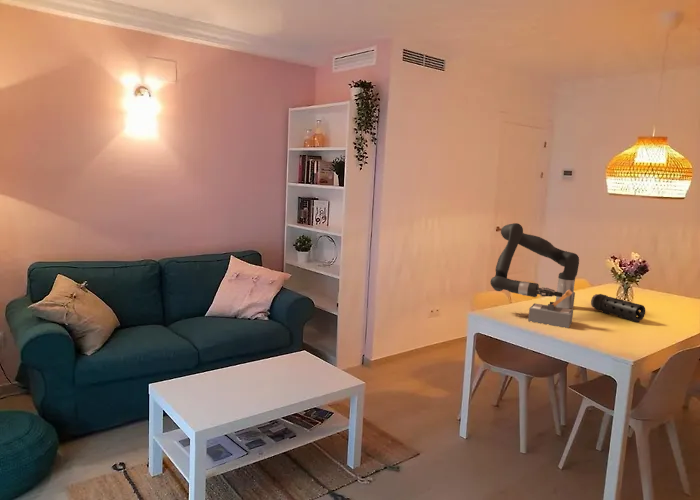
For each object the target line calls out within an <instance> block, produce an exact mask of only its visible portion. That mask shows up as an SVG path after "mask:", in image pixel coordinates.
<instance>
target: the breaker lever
mask: <svg viewBox="0 0 700 500" xmlns="http://www.w3.org/2000/svg"><path fill="white" fill-rule="evenodd" d="M572 293H573V292H572V291H571V290H570V289H569V290H568V291H566V293H565V294H564V295H563V296H562V297H560V298H559V299H558V300H556V299H555V301H553V302H554V303H553V304H551V305H554V307H555V306H556V305H557V304H559V303H560V302H561V301H562V300H564V299H565V298H566V297H567V296H568V297H569V296H570V295H571V294H572Z"/></svg>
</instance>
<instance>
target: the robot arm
mask: <svg viewBox="0 0 700 500" xmlns="http://www.w3.org/2000/svg"><path fill="white" fill-rule="evenodd" d="M500 235H501V236H502V238H503V239H504V240H506V241H507V243H506V246H505V247H504V249H503V250H502V252H501V254H500V255H499V257H498V259H497V262H496V265H495V276H493V277H492V278H490V285H491V287H492V289H493V290H495V291H496V292H502V291H508V292H509V293H512V294H517V295H522V296H526V297H532V298H536V297H538V295H539V296H541V297H555V301H556V300H558V299H559V298H560V297H562V296H563V295H564V294H565V293H566V291H568V290H569V289H570V290H571V291H572V292H573V293H572V294H571V295H570V296H569V297H568V296H567V297H566V298H565V299H564V300H562V301H561V302H560V303H559V304H557V305H556V307H561V308H567V309H573V308H574V305H575V297H576V296H575V295H576V292H574V291H575V283H576V277H577V275H578V271H579V267H580V266H579V265H580V258H579V255H578V254H576V253H575V252H570V251H567V250H563V249H560V248H557V247H556V246H555V245H553V243H551V242H550V241H548V240H547V239H544V238H542V237H540V236H537V235H534V234H529V233H524V228H523V226H522V225H521V224H520V223H518V222H517V223H515V222H514V223H510V224H506V225H504V226H503V227H502V228H501V229H500ZM518 246H522V247H523V248H526V249H527V250H528V251H529V250H530V251H532V252H533V253H535V254H537V255H539V256H542V257H544V258H547V259H551V260H552V261H554V262H555V263H557V264H558V265H560V266H561V267H564V268H563V271H562V272H559V273H558V275H557V276H558V277H557V286H556V287H557V288H556V290H555V289H553V288H552V289H551V288H549V287H539V286H540V284H539V283H536V282H530V281H525V280H524V281H523V280H517V279H512V278H511V279H510V278H508V274H509V270H510V268H511V262H512V260H513V257H514V255H515V252H516V250H517V248H518Z"/></svg>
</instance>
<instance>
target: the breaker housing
mask: <svg viewBox="0 0 700 500" xmlns="http://www.w3.org/2000/svg"><path fill="white" fill-rule="evenodd" d="M554 302H555V301H549V303H548V304H540V303H533V304H532V305H530V307H529V309H528V310H529V311H528V320H527V321H528V322H530V321H532V322H531V323H535V322H538V323H537V324H541V323H544V324H543V325H547V324H549V325H548V326H552V327H558V326H559V327H560V328H564V327H565V329H570V327H571V324H572V322H573V316H574V309H573V308H570V309H567V308H561V307H556V306H555V307H554V305H551V304H553V303H554ZM569 326H570V327H569ZM559 327H558V328H559Z"/></svg>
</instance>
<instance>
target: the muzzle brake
mask: <svg viewBox="0 0 700 500" xmlns="http://www.w3.org/2000/svg"><path fill="white" fill-rule="evenodd" d="M590 304H591V307H592V308H594V309H595V310H597V311H601V312H602V313H604V314H607V315H610V314H612V315H615V316H617V317H619V318H622V319H625V320H628V321H631V322H636V323H639V322H640V321H642V320H643V319H644V318H645V315H646V307H645V305H643V304H639V303H635V302H631V301H627V300H623V299H619V298H616V297H612V296H608V295H607V294H602V293H598V294H594V295H593V296H592V297H591V300H590Z"/></svg>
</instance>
